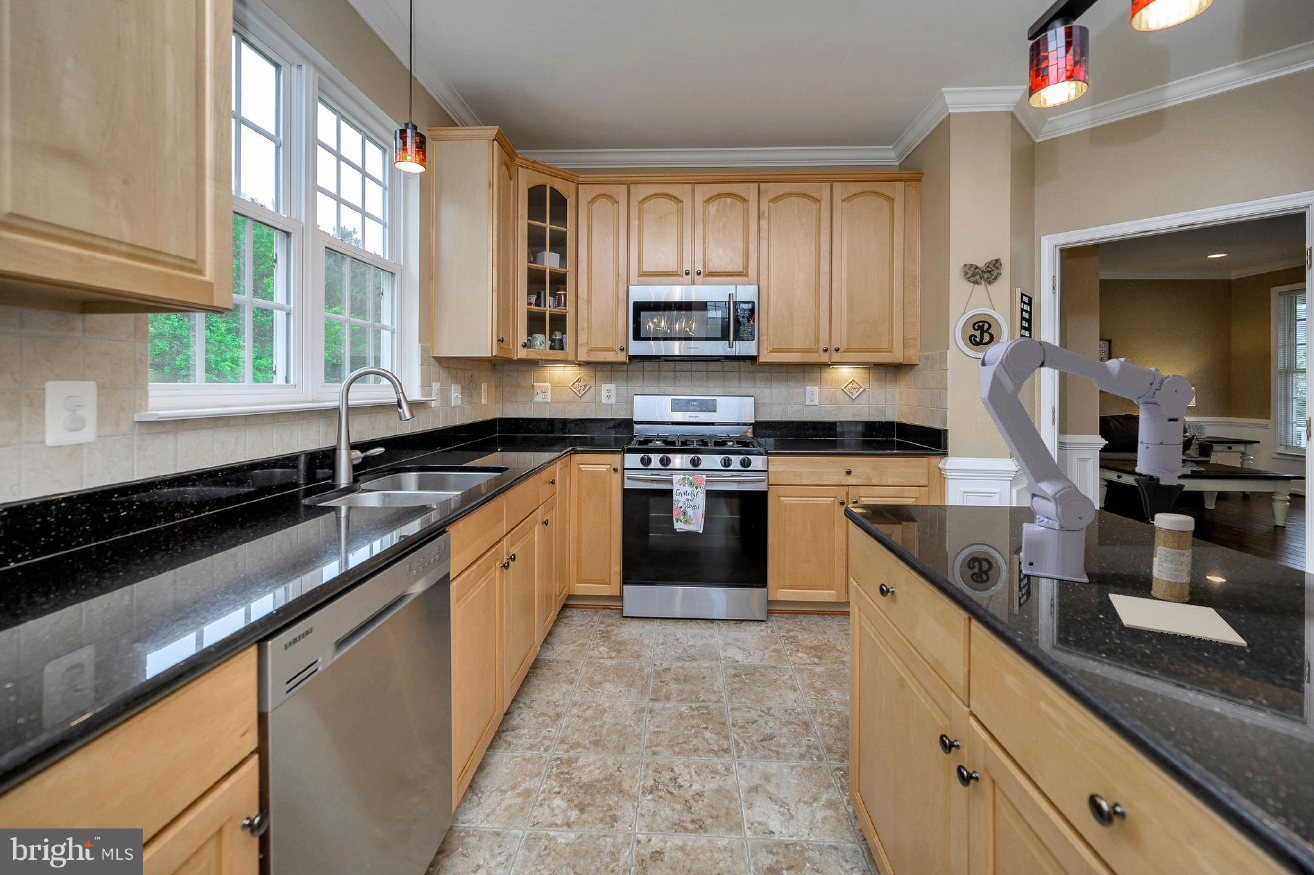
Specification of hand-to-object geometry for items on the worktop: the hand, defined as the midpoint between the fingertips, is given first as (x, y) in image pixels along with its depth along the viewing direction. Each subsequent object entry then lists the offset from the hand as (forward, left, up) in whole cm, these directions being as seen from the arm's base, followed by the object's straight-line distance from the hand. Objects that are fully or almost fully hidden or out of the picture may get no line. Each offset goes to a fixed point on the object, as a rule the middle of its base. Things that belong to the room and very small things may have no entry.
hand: (1156, 519), depth 96 cm
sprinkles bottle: (0, -12, -11) cm, 16 cm away
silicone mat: (-2, -23, -10) cm, 25 cm away
